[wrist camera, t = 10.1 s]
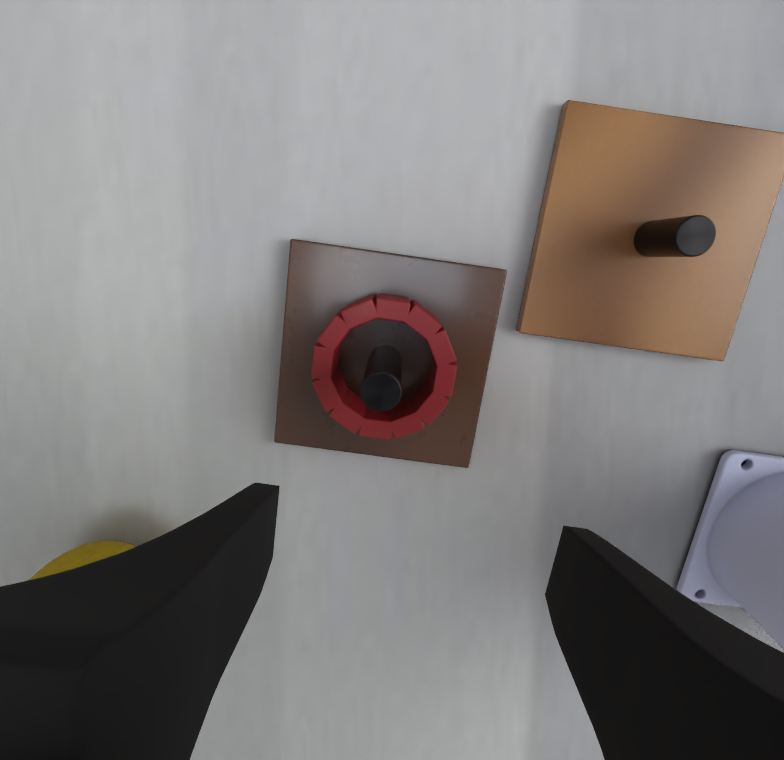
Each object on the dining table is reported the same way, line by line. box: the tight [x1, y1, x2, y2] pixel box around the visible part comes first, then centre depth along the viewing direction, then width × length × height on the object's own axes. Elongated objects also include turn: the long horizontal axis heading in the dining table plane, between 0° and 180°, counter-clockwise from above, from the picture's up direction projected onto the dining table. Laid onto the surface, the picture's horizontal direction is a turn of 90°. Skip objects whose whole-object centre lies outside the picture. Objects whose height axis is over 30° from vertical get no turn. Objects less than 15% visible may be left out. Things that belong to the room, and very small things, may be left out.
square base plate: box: [274, 239, 507, 468], centre depth 19 cm, size 9×9×6 cm
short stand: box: [516, 100, 784, 361], centre depth 18 cm, size 9×9×4 cm
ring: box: [311, 293, 457, 440], centre depth 20 cm, size 6×6×2 cm
